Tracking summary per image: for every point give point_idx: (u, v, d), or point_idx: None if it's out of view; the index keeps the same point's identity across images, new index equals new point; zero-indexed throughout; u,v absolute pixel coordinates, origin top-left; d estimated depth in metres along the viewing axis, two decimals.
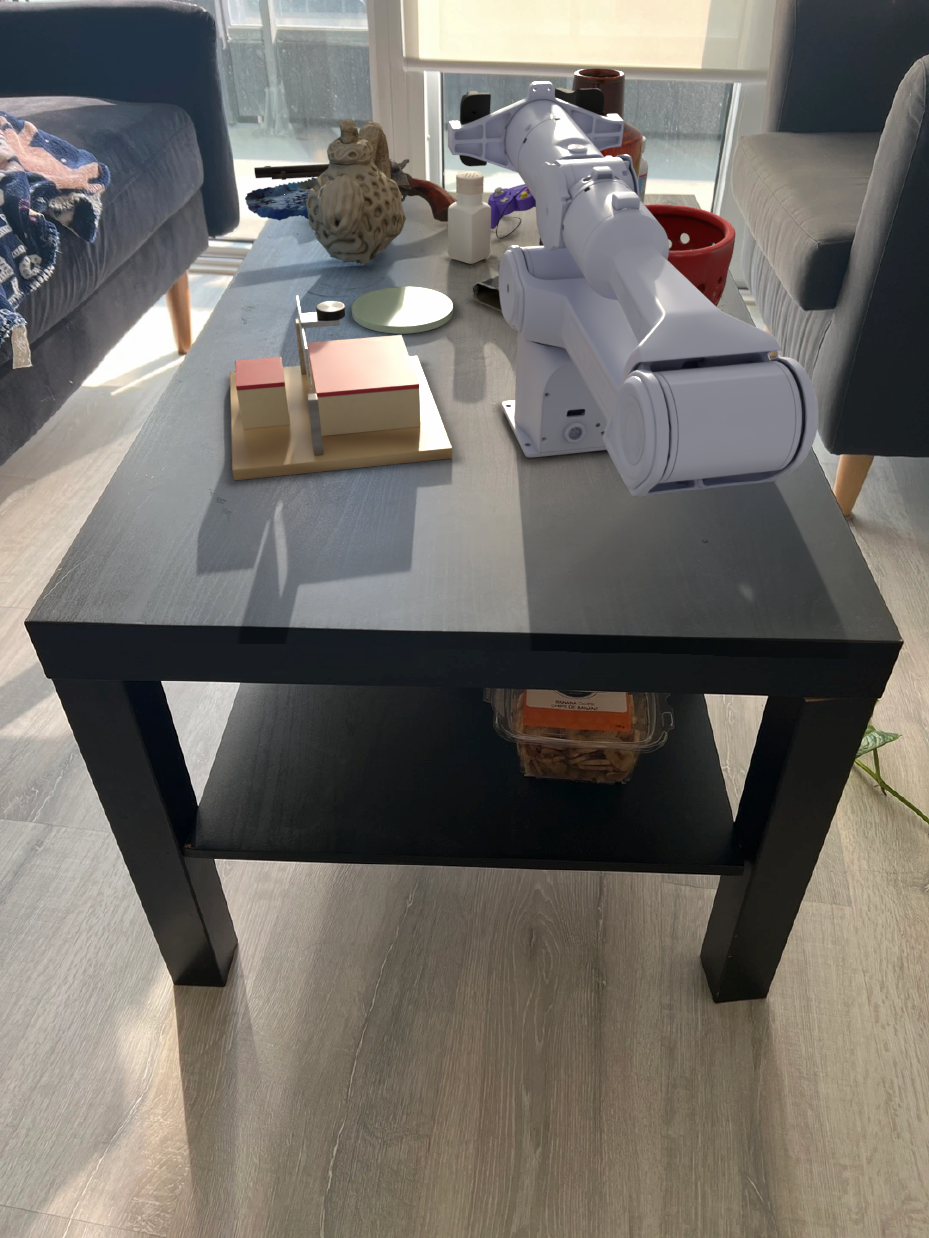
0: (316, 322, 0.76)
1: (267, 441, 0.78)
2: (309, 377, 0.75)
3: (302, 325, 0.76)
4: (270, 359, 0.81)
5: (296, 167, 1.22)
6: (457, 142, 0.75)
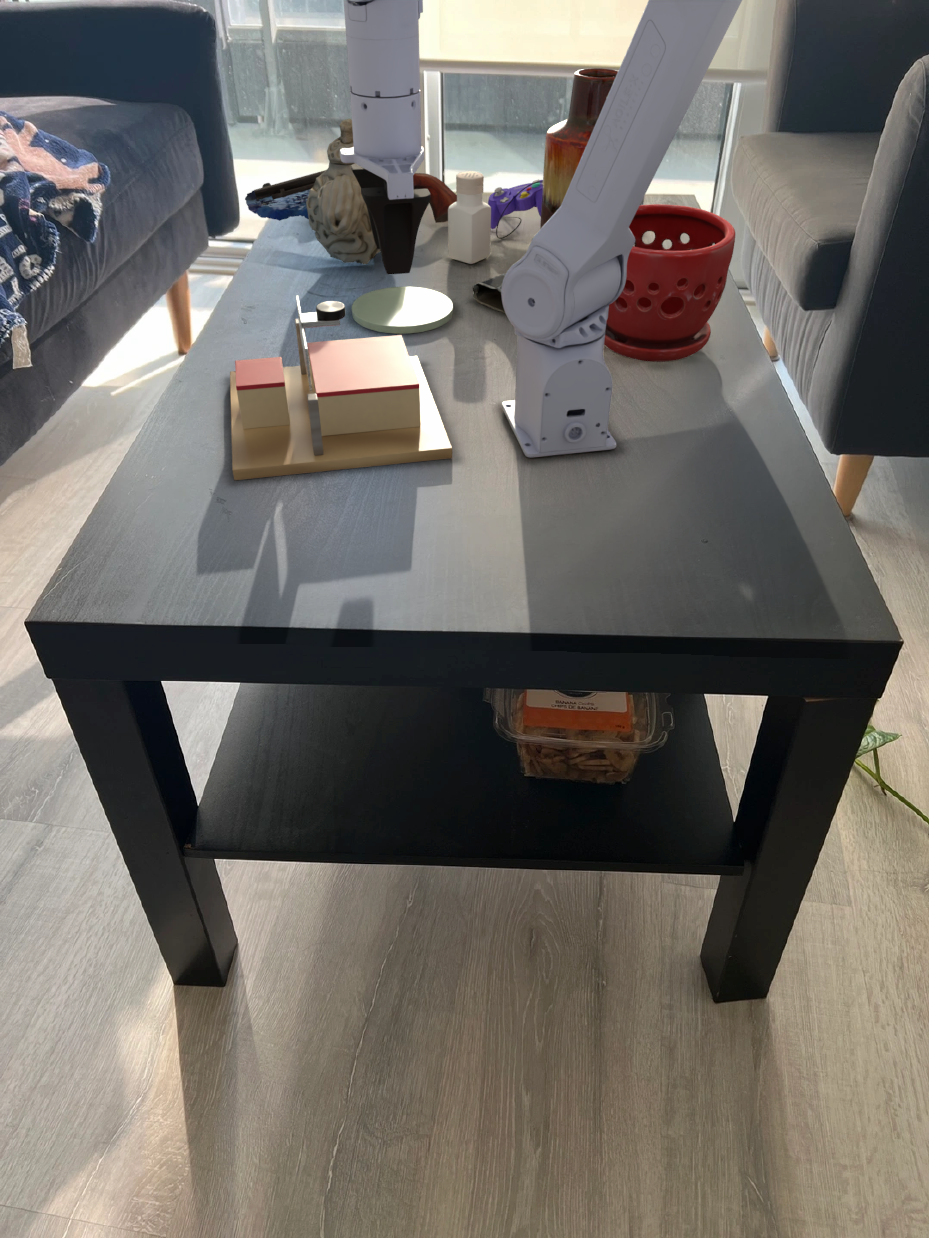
0: (316, 322, 0.76)
1: (267, 441, 0.78)
2: (309, 377, 0.75)
3: (302, 325, 0.76)
4: (270, 359, 0.81)
5: (294, 182, 1.22)
6: (399, 172, 0.73)
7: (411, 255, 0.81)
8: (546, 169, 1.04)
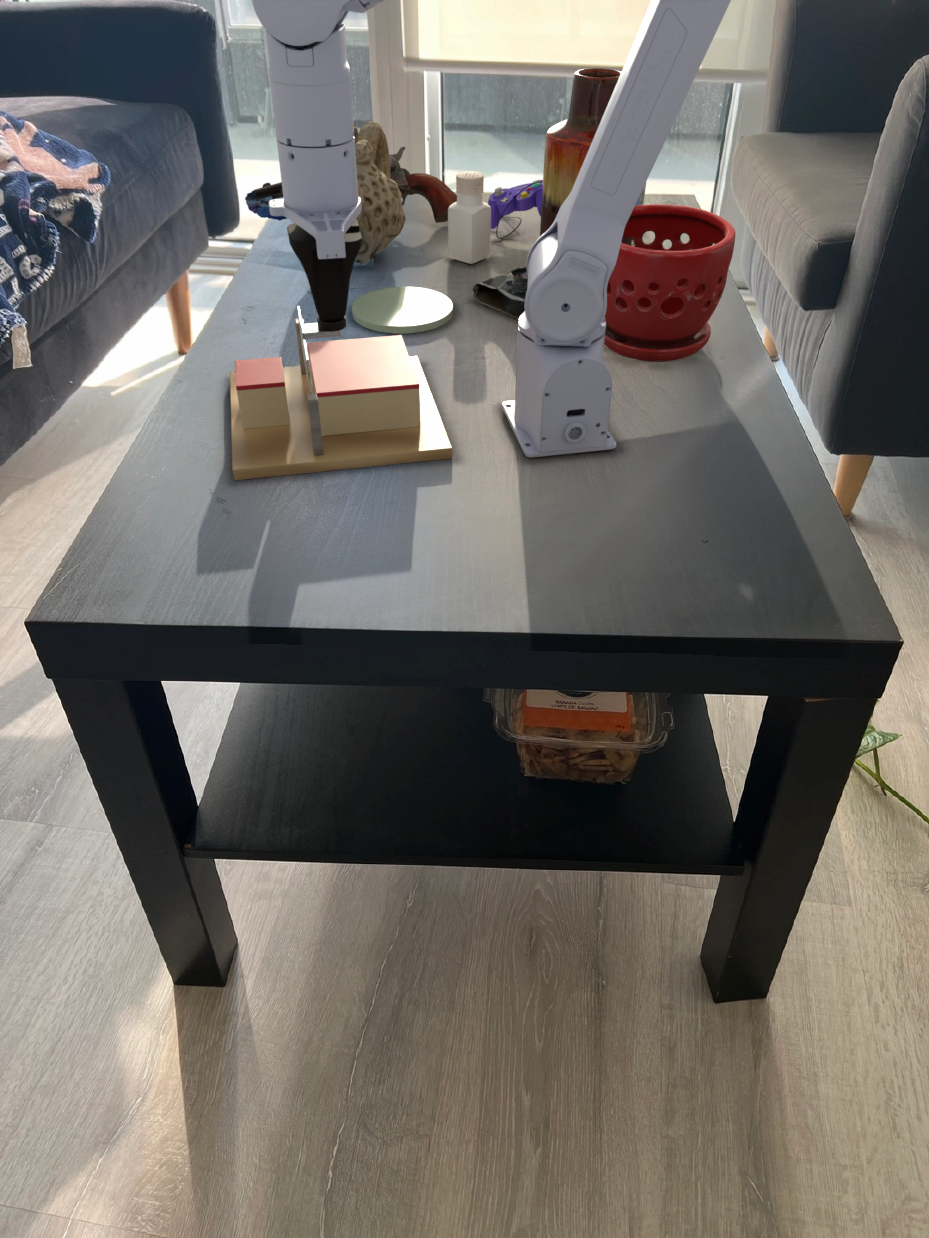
0: (317, 333, 0.77)
1: (267, 441, 0.78)
2: (310, 388, 0.75)
3: (303, 336, 0.77)
4: (270, 359, 0.81)
5: None
6: (329, 229, 0.66)
7: (345, 300, 0.76)
8: (546, 169, 1.04)
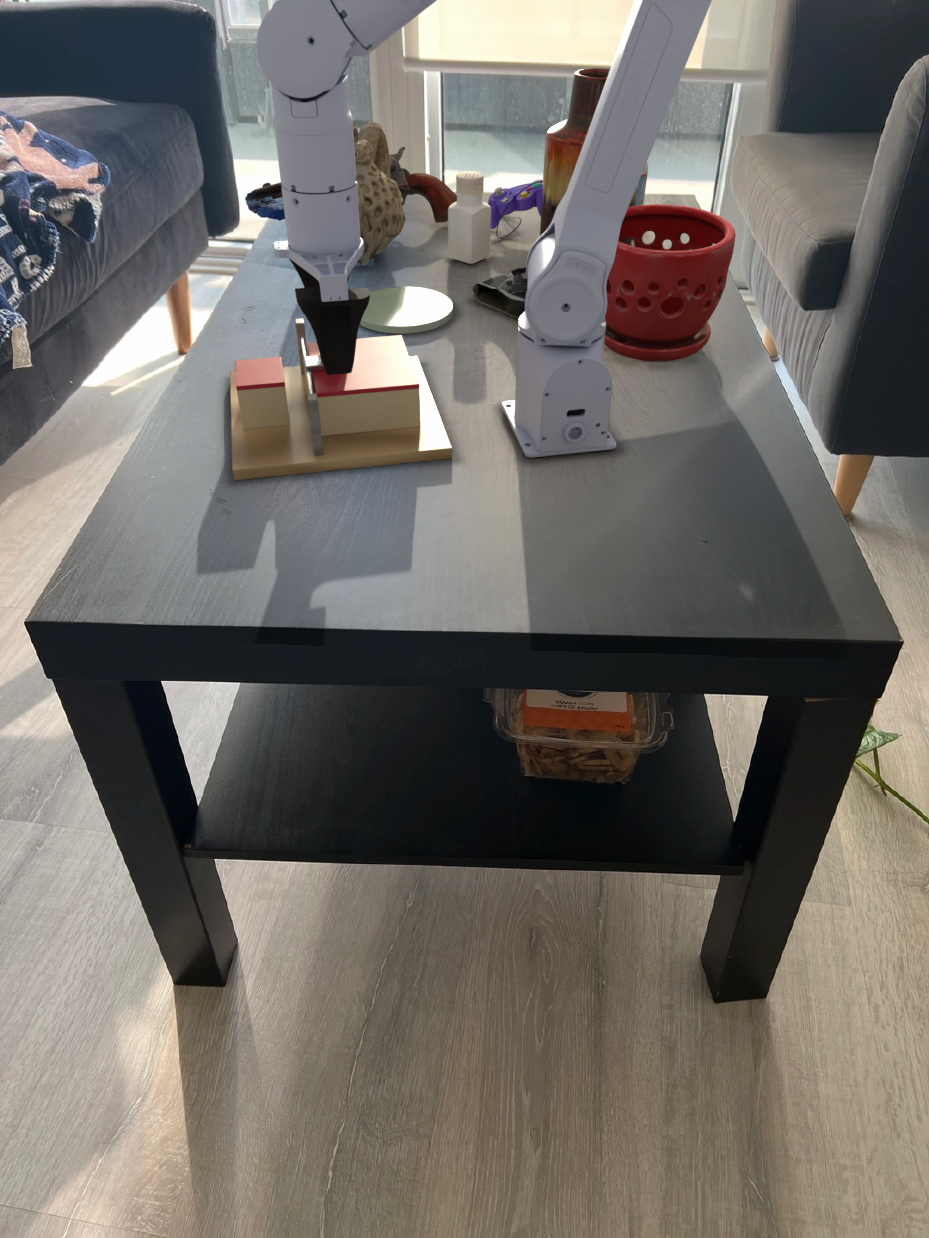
0: (320, 366, 0.79)
1: (267, 441, 0.78)
2: None
3: (307, 369, 0.79)
4: (270, 359, 0.81)
5: None
6: (332, 273, 0.68)
7: (352, 355, 0.75)
8: (546, 169, 1.04)
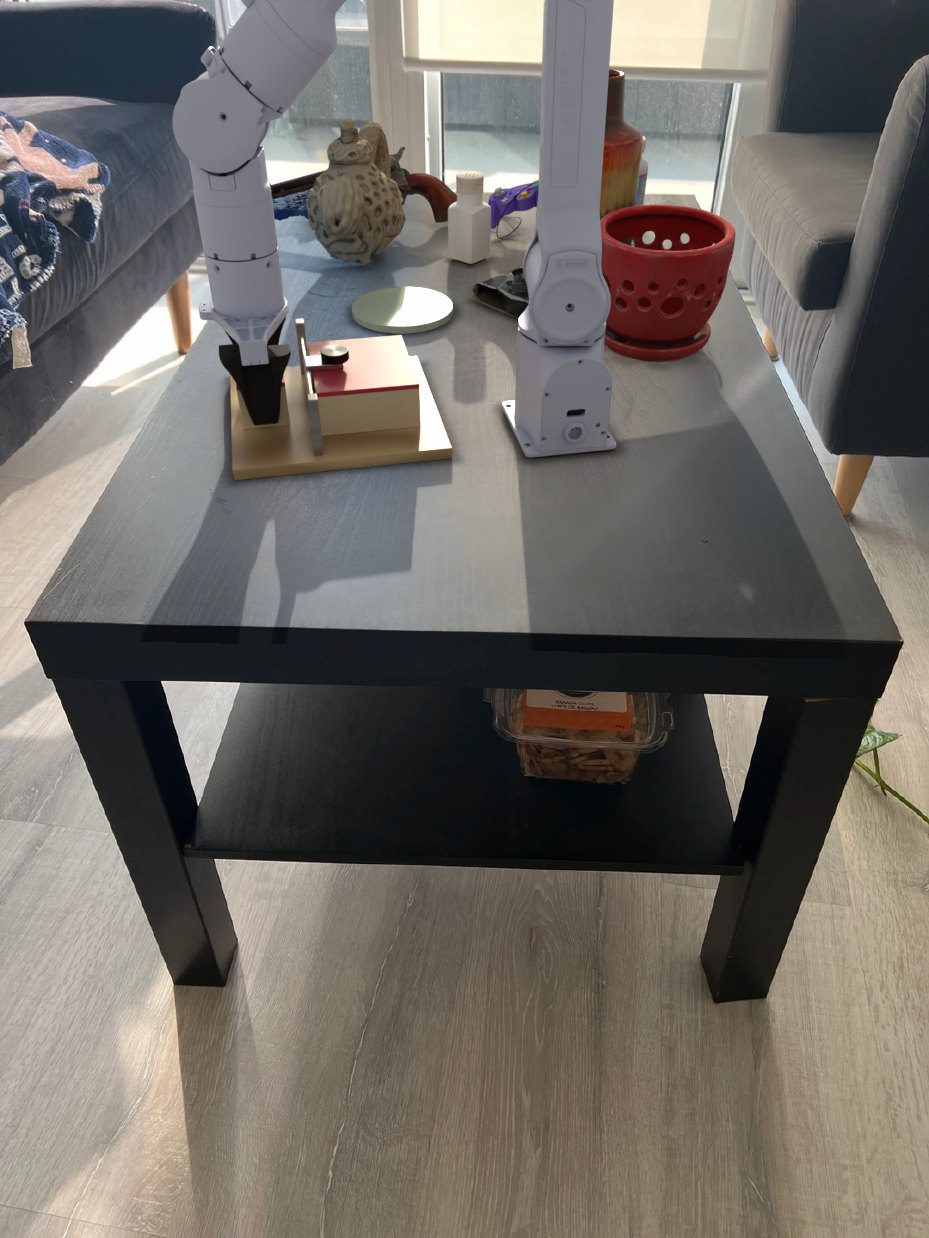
0: (320, 366, 0.79)
1: (267, 441, 0.78)
2: None
3: (307, 369, 0.79)
4: None
5: (294, 182, 1.22)
6: (252, 339, 0.70)
7: (277, 407, 0.78)
8: None
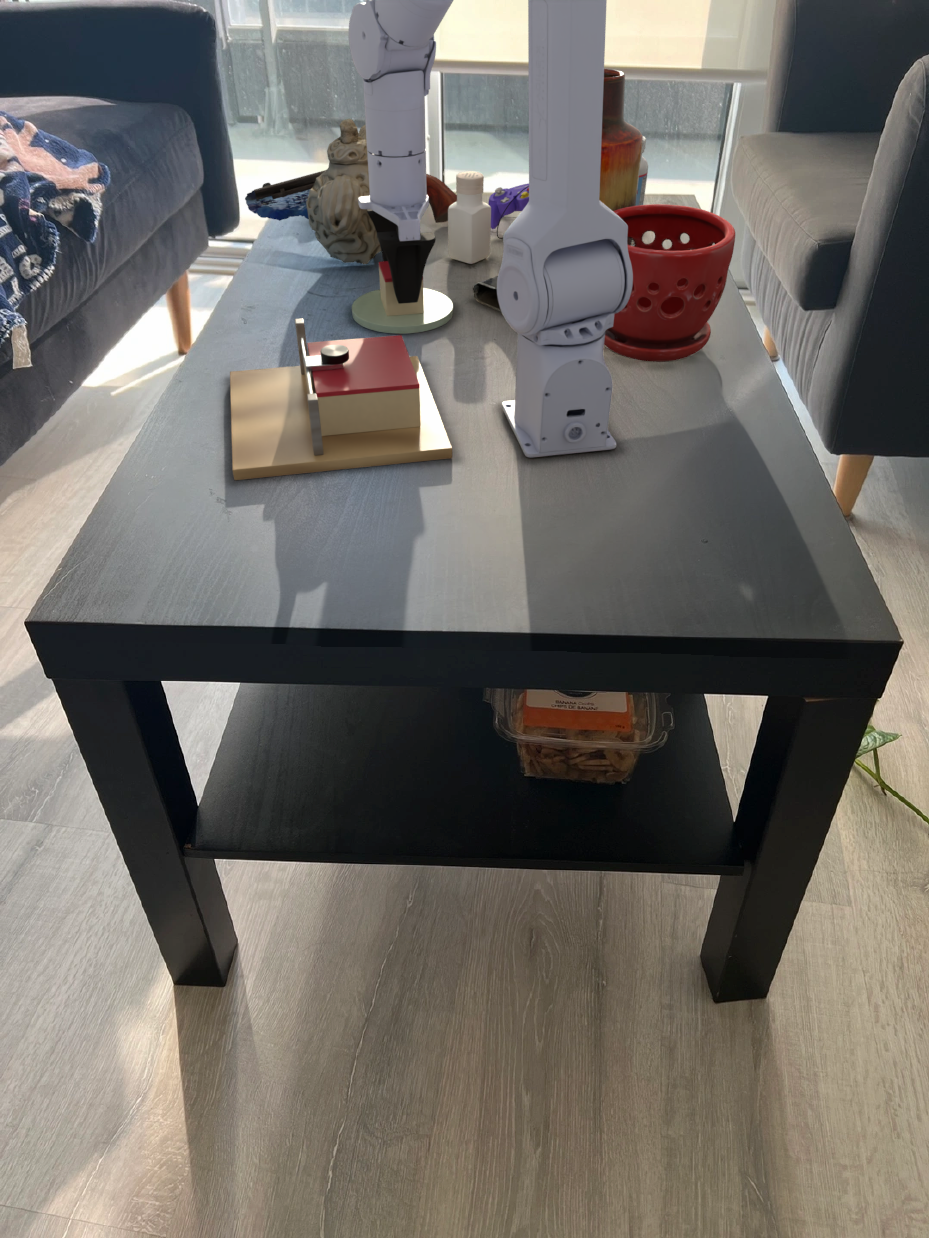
0: (320, 366, 0.79)
1: (267, 441, 0.78)
2: None
3: (307, 369, 0.79)
4: None
5: (294, 182, 1.22)
6: (409, 218, 0.88)
7: (419, 287, 0.95)
8: None
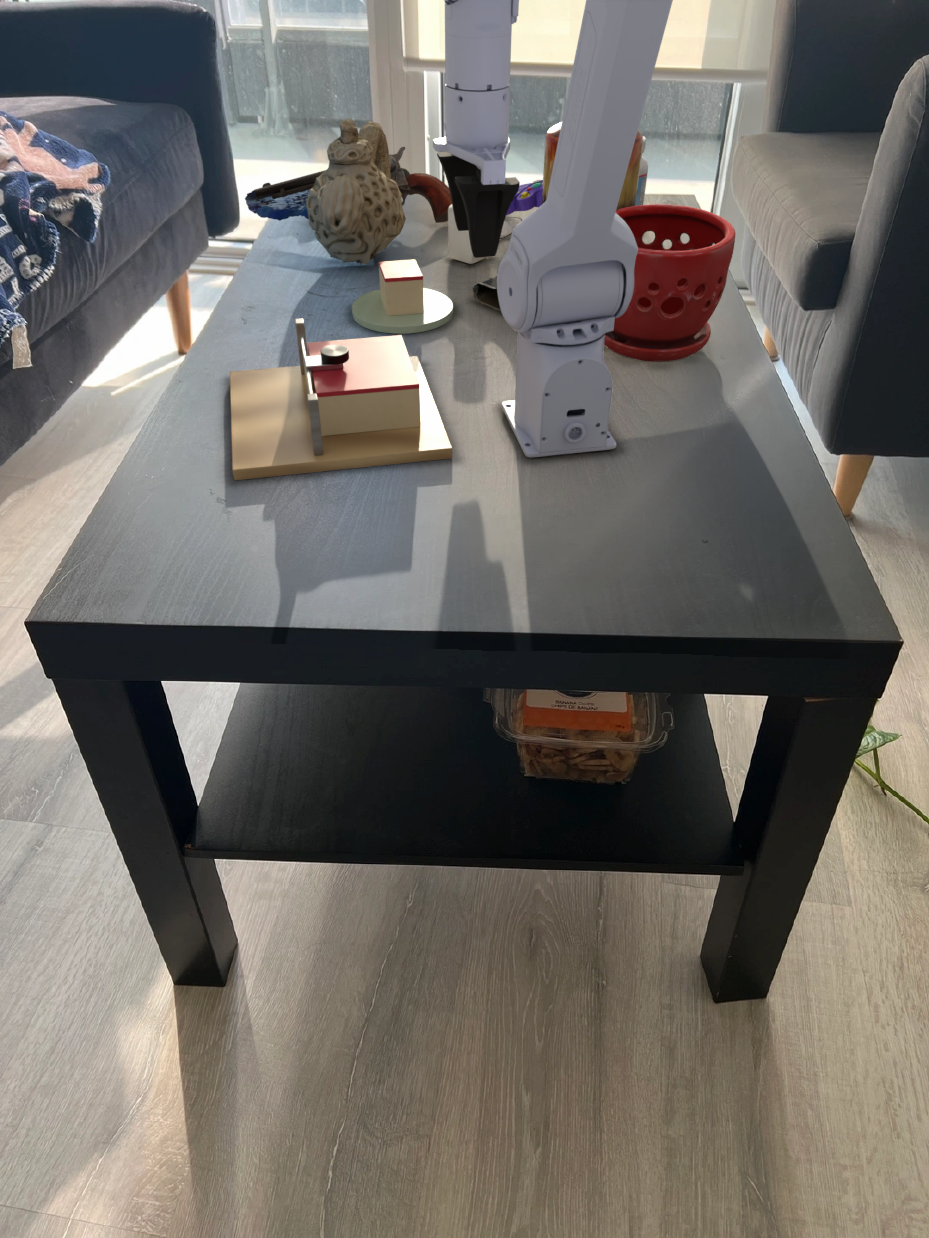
0: (320, 366, 0.79)
1: (267, 441, 0.78)
2: None
3: (307, 369, 0.79)
4: (407, 261, 1.00)
5: (294, 182, 1.22)
6: (493, 159, 0.80)
7: (497, 239, 0.87)
8: (546, 169, 1.04)
